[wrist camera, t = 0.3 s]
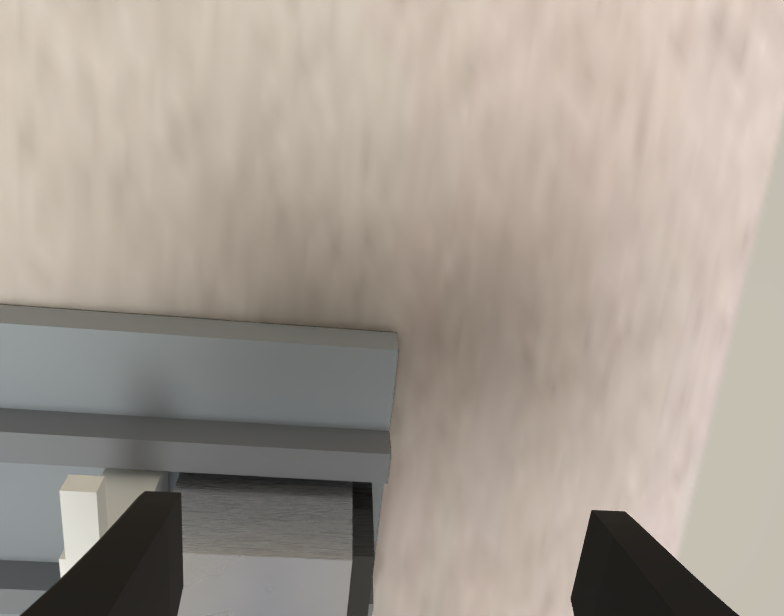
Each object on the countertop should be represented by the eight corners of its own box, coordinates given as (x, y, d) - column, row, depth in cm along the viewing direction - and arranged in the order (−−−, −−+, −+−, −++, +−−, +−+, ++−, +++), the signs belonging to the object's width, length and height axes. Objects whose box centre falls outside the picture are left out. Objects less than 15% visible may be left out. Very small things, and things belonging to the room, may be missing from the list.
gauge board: (362, 631, 27) (364, 769, 22) (-162, 611, 26) (-280, 755, 21) (396, 332, 22) (408, 426, 18) (-243, 286, 21) (-420, 376, 16)
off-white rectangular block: (171, 621, 25) (129, 765, 20) (121, 619, 25) (68, 764, 20) (166, 383, 21) (114, 493, 17) (108, 379, 21) (41, 489, 16)
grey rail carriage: (361, 570, 24) (362, 675, 21) (185, 562, 24) (155, 668, 20) (372, 468, 23) (375, 561, 19) (185, 458, 22) (151, 551, 19)
